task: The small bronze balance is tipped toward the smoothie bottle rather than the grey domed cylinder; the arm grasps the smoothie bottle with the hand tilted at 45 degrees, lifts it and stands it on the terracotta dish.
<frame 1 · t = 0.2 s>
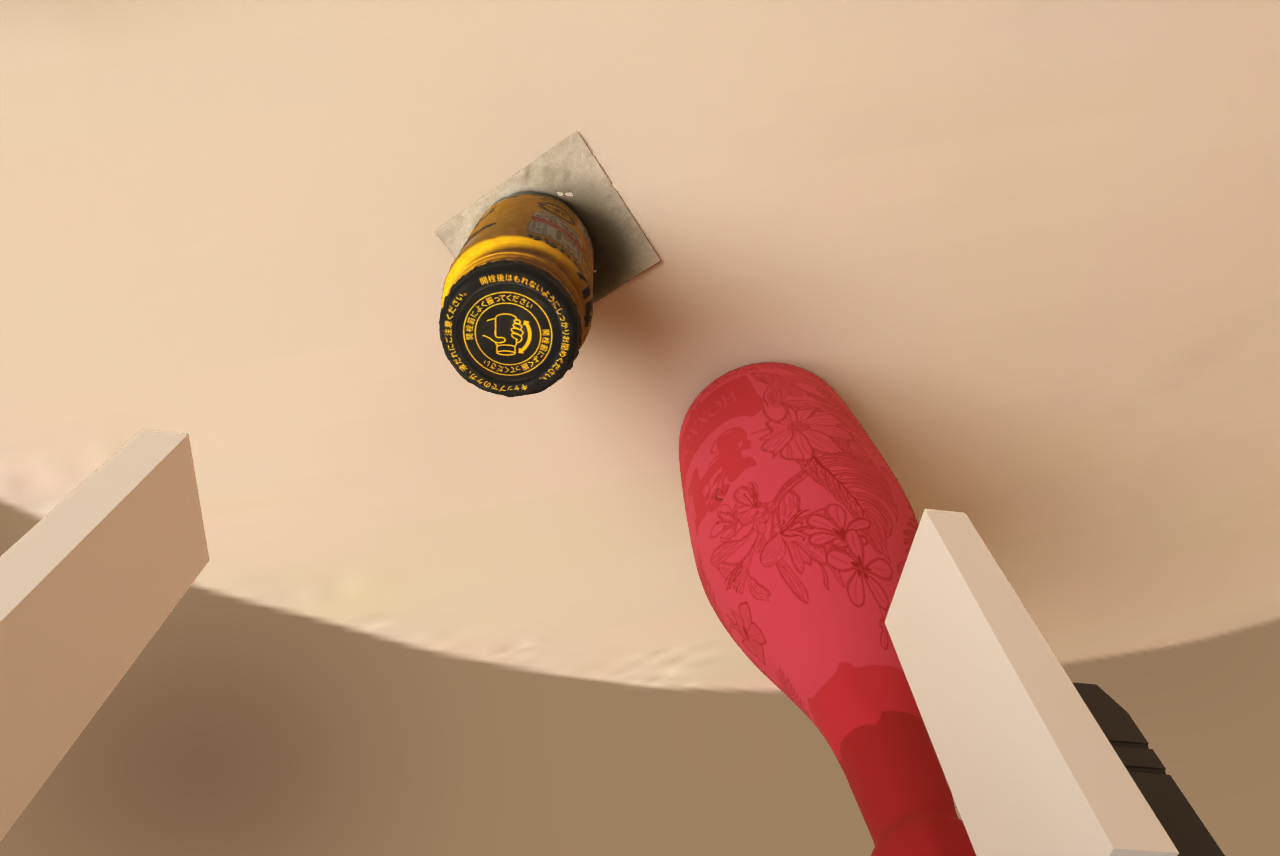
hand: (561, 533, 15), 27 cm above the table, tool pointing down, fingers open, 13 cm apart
condiment: (549, 243, 40), on the table
wine bottle: (759, 431, 45), on the table
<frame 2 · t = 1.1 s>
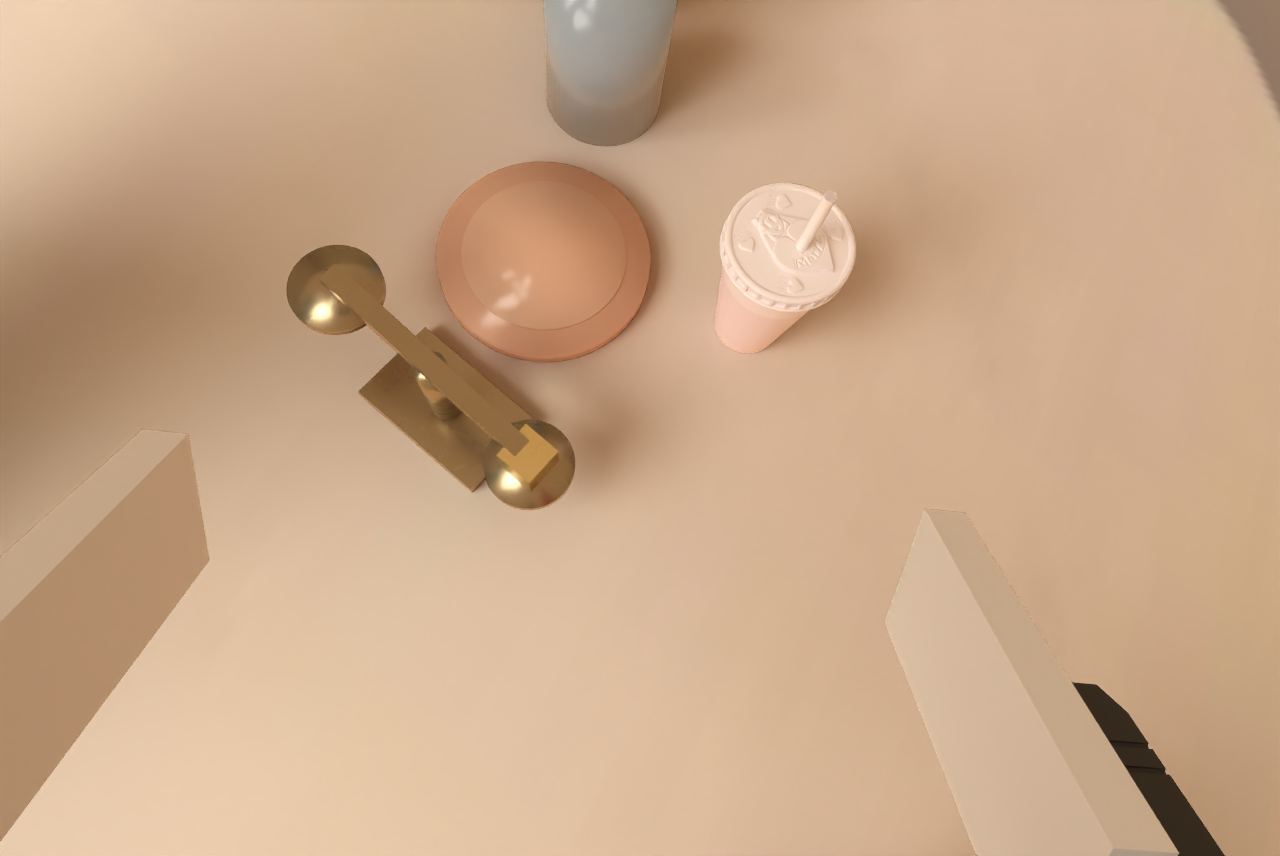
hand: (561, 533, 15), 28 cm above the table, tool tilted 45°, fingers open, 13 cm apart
smoothie: (744, 324, 47), on the table
balance: (449, 410, 44), on the table
grey domed cylinder: (603, 97, 50), on the table
dish: (545, 264, 46), on the table
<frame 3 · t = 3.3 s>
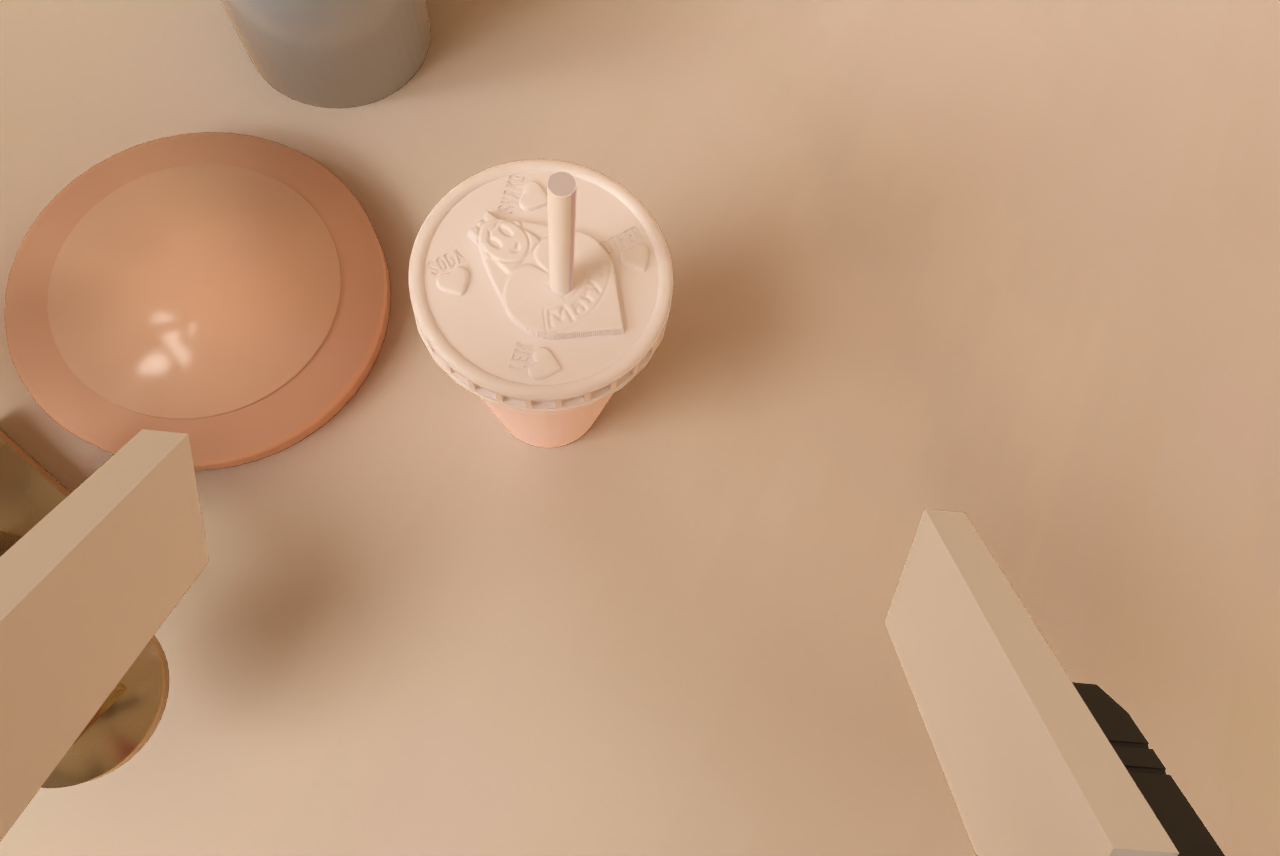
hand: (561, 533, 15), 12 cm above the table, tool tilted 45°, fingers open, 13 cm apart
smoothie: (548, 398, 29), on the table
balance: (14, 561, 25), on the table
grey domed cylinder: (339, 31, 32), on the table
dish: (214, 302, 28), on the table
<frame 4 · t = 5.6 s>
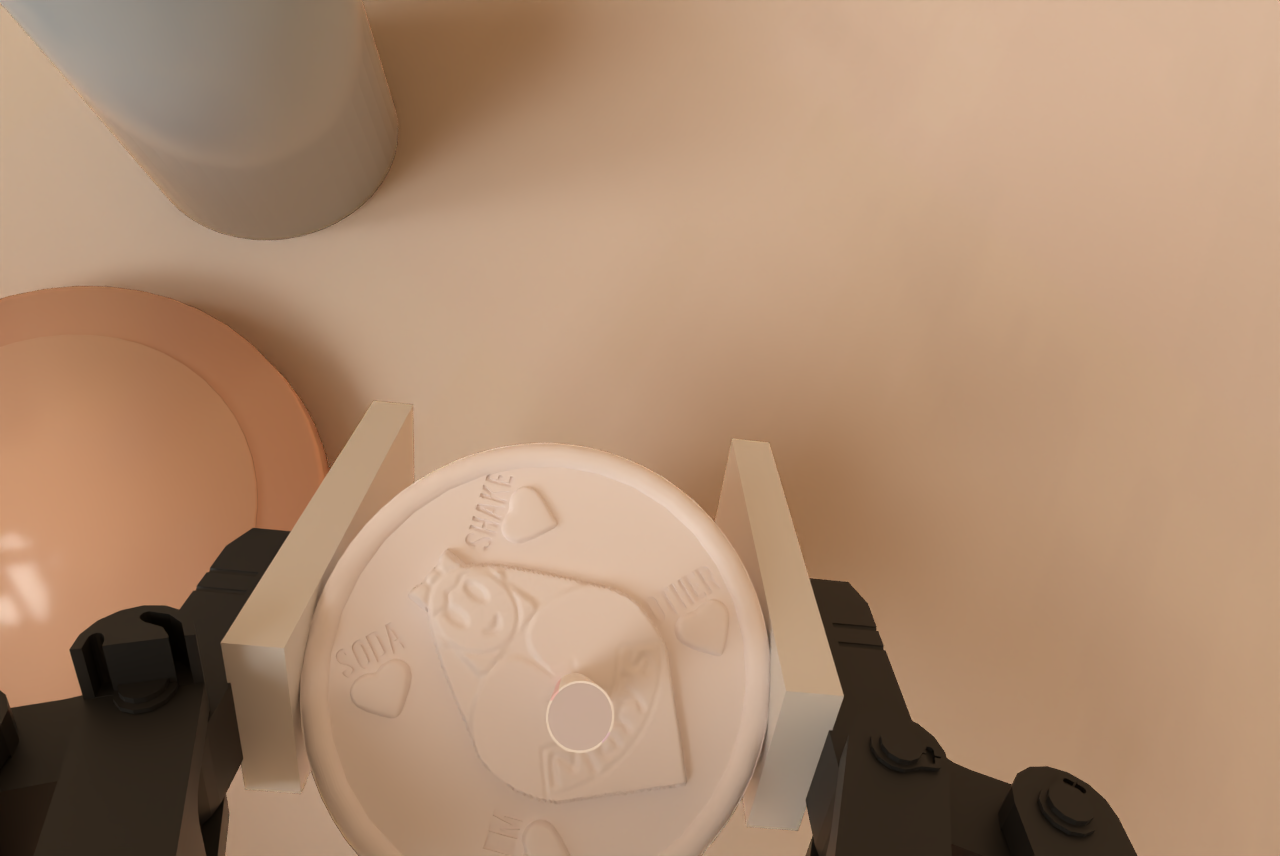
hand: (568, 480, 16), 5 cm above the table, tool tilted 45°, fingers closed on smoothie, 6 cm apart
smoothie: (552, 664, 20), on the table, touching gripper
grey domed cylinder: (274, 132, 23), on the table
dish: (80, 529, 20), on the table
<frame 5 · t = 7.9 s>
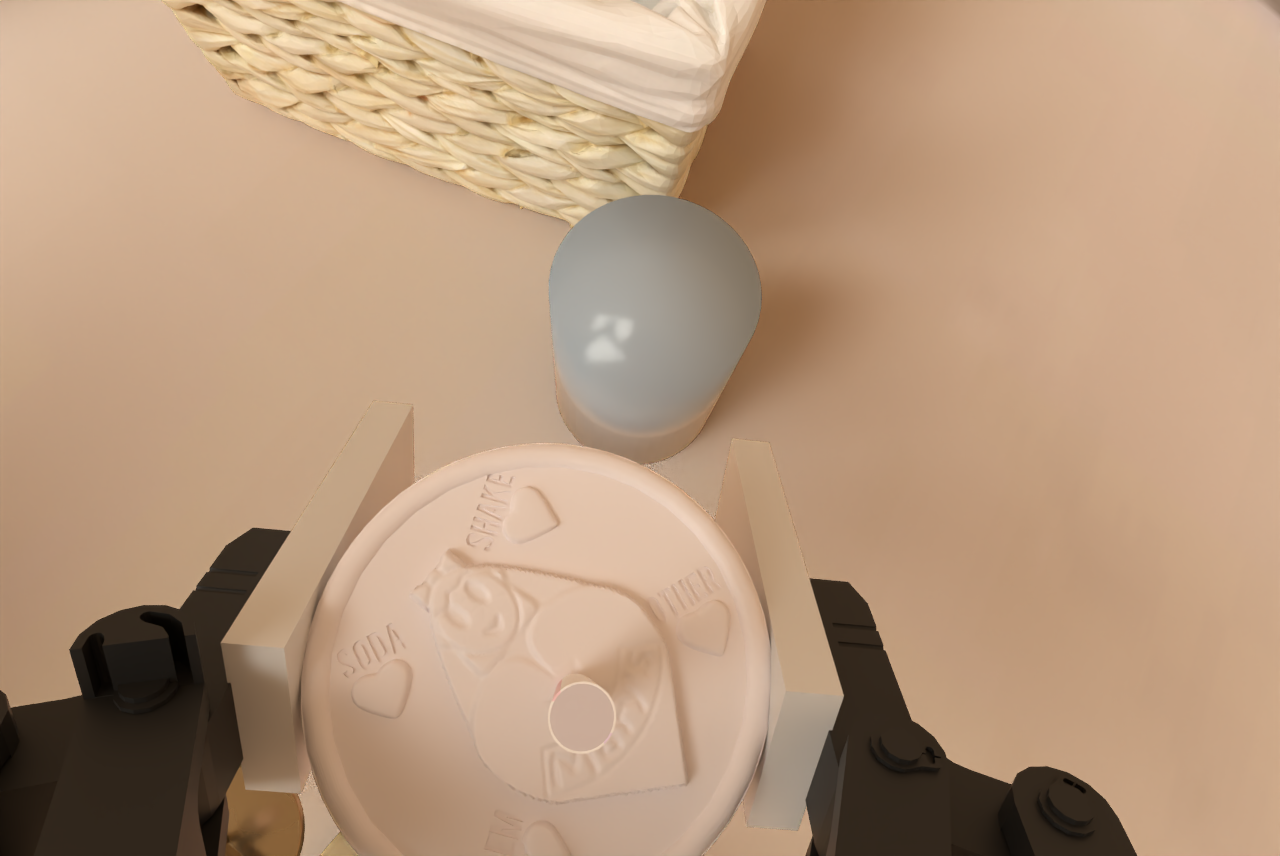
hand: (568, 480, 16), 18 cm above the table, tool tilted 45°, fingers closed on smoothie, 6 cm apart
smoothie: (553, 664, 20), point 13 cm above the table, touching gripper
storage basket: (503, 78, 40), on the table
grey domed cylinder: (634, 388, 36), on the table
when the fingers open (8 cm above the table, at t = 10.3 s): smoothie drops 1 cm, resting on dish.
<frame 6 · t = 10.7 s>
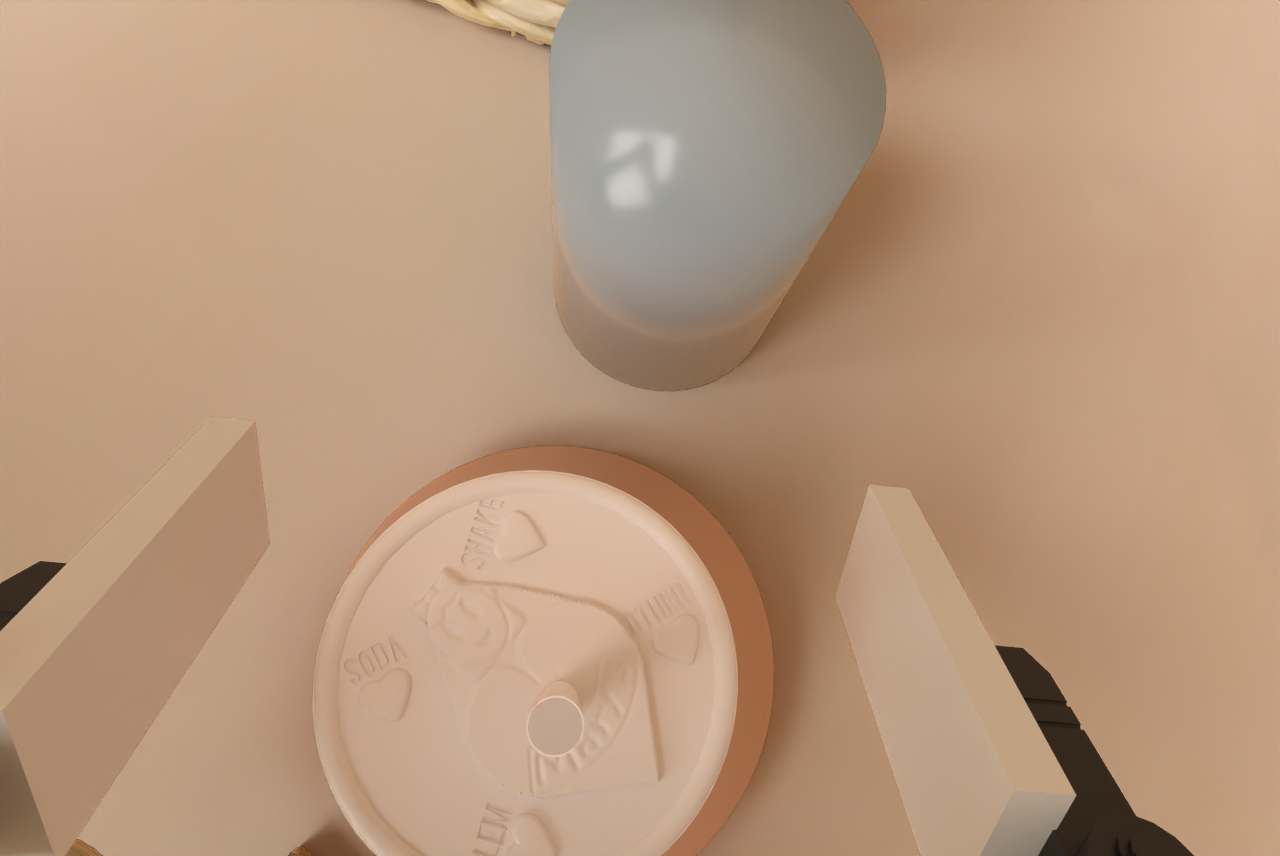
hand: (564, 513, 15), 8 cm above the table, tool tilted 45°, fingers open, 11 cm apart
smoothie: (545, 665, 21), point 1 cm above the table, touching dish
grey domed cylinder: (662, 288, 26), on the table
dish: (553, 663, 23), on the table
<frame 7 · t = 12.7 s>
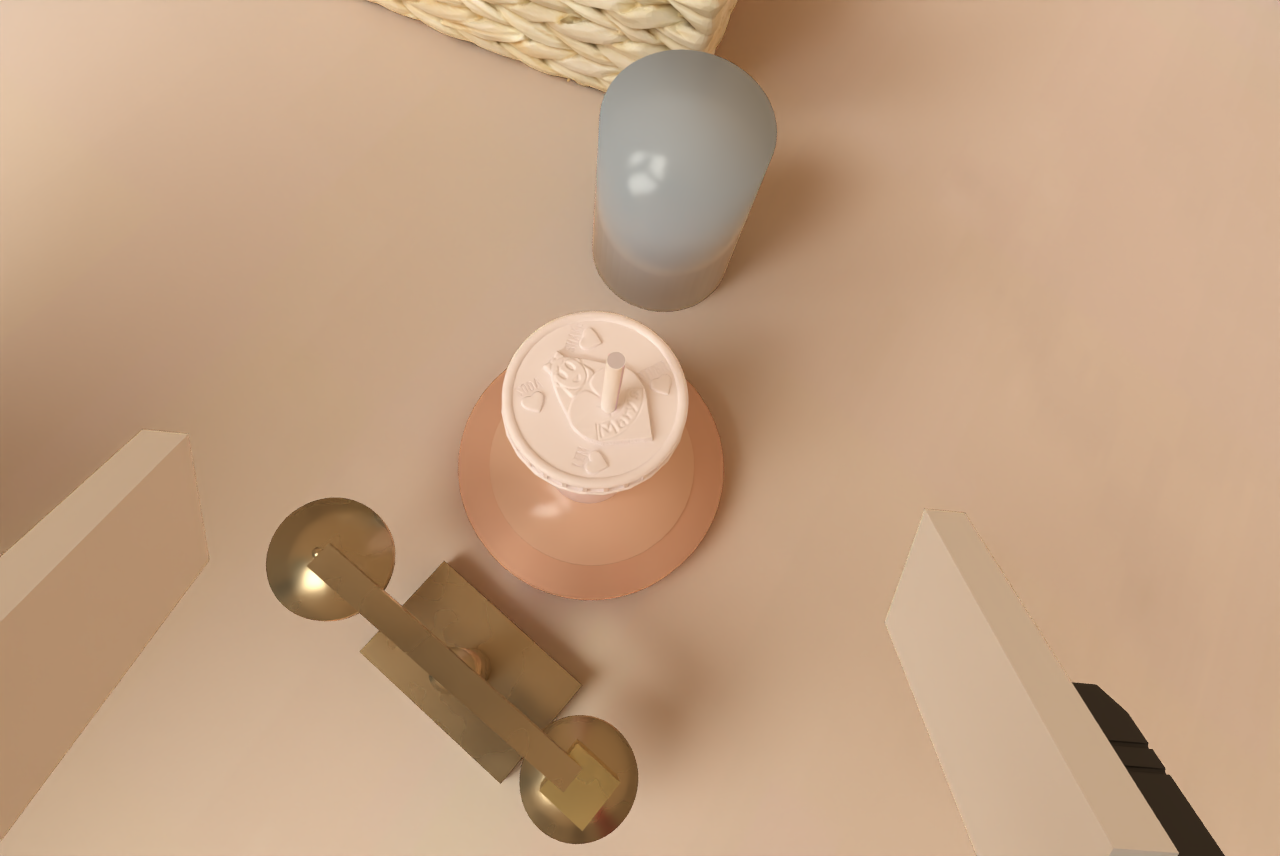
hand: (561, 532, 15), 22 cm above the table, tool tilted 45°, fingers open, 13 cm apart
smoothie: (588, 464, 36), point 1 cm above the table, touching dish
balance: (473, 668, 35), on the table
grey domed cylinder: (660, 248, 41), on the table
dish: (592, 469, 38), on the table
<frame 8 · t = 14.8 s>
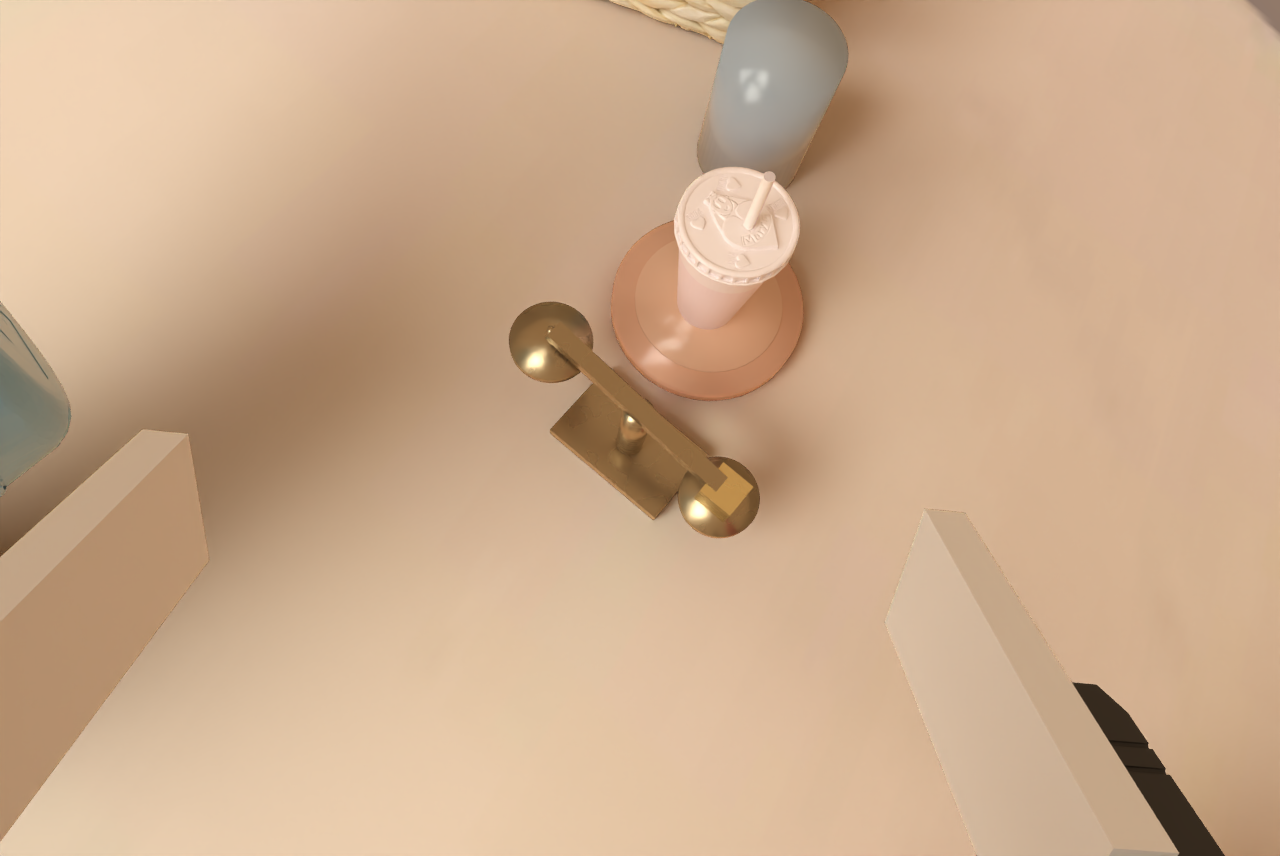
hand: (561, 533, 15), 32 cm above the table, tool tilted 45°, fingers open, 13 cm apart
smoothie: (705, 303, 50), point 1 cm above the table, touching dish
balance: (628, 445, 48), on the table
grey domed cylinder: (748, 154, 55), on the table
dish: (705, 310, 51), on the table
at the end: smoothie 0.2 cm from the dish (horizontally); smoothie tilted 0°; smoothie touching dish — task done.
